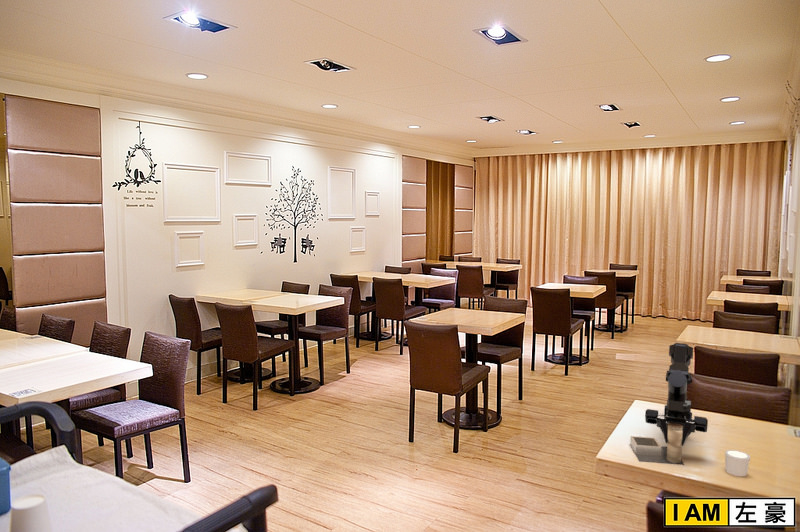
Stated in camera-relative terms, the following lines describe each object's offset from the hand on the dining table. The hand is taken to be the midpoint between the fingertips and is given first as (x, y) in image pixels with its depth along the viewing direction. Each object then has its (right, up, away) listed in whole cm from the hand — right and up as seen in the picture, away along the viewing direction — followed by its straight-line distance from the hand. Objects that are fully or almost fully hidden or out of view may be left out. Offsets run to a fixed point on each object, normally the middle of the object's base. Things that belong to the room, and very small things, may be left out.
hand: (674, 444), depth 183 cm
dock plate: (-3, -6, +7) cm, 10 cm away
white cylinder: (+16, -8, -7) cm, 19 cm away
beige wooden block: (+1, -6, +2) cm, 6 cm away
